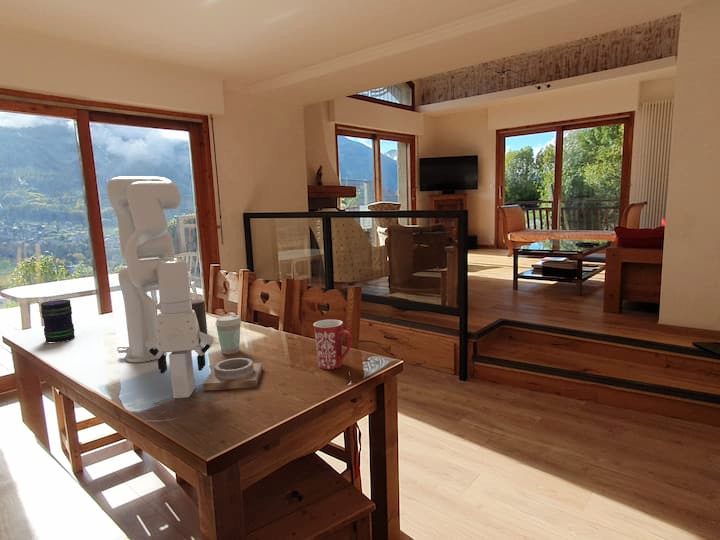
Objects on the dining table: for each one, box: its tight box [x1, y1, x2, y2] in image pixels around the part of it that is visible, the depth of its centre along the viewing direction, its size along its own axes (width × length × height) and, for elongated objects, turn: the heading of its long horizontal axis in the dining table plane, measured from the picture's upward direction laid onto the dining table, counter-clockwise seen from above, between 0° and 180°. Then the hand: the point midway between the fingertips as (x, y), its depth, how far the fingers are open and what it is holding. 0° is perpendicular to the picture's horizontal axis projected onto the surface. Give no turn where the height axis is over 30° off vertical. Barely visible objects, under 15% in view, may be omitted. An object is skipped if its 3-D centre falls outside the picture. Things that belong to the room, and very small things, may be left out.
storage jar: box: [40, 299, 76, 343], centre depth 176 cm, size 10×10×15 cm
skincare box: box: [168, 351, 196, 399], centre depth 121 cm, size 6×4×12 cm
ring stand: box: [203, 357, 263, 392], centre depth 130 cm, size 14×14×4 cm
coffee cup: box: [214, 314, 242, 355], centre depth 155 cm, size 8×8×12 cm
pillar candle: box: [191, 297, 208, 335], centre depth 176 cm, size 10×10×15 cm
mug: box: [312, 319, 353, 370], centre depth 137 cm, size 13×9×14 cm
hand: (182, 370), depth 120 cm, fingers open, 9 cm apart
